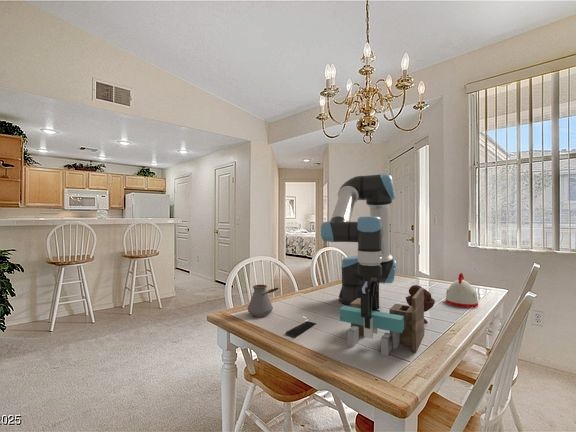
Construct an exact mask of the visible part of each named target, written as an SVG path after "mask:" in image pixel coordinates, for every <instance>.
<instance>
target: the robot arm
mask: <svg viewBox="0 0 576 432" xmlns="http://www.w3.org/2000/svg"><path fill="white" fill-rule="evenodd" d="M395 199H396V194H395V188H394V182H393V177H392V176H391V175H390V174H382V173H381V174H370V175H356V176H354V177H351V178H350V179H348V180H346V181H345V182H344V183H342V185H340V187H339V189H338V192H337V201H336V204H335V206H334V209H333V212H332V215H331V218H330V219H329V220H330V221H323V222H322V223H321V226H320V237H321V240H322V241H323V242H328V243H329V242H330V243H357V255H352V256H351V255H350V256H346V257H344V258H342V260H341V288H340V291H339V294H338V302H339V301H340V302H339V303H341V302H342V303H341V304H343V303H344V304H343V305H347V304H348V305H347V306H351V305H350V303H351V302H353V301H354V300H356V299H357V298H361V317H364V336H363V338H367V339H371V340H372V339H374V334H376V335H377V334H378V328H373V318H372V311H377V312H381V310H380V284H383V285H385V284H393V282H394V281H395V278H396V277H395V276H396V269H397V268H396V267H397V260H396V259H394V256H393V255H392V254H390V221H389V220H390V217H389V215H390V212H389V209H390V208H389V207H390V206H391V205H392V203H393V200H395ZM357 201H365V202H366V205H367V206H368V207H369V216H359V217H358V218H357V221H351V218H352V215H353V211H354V208H355V203H357Z"/></svg>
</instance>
